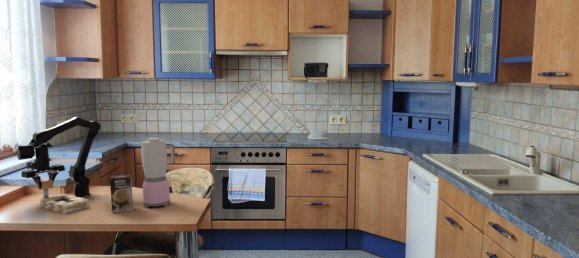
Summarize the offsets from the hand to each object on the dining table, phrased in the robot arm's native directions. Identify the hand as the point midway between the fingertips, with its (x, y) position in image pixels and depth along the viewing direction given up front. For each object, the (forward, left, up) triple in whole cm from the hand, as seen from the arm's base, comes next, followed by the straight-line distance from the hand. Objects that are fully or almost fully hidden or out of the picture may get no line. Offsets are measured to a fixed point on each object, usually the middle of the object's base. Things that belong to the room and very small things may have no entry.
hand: (45, 188), depth 225 cm
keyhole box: (-6, +15, -7) cm, 17 cm away
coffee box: (-27, +37, -7) cm, 47 cm away
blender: (-44, +39, -7) cm, 59 cm away
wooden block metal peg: (0, 0, -7) cm, 7 cm away
